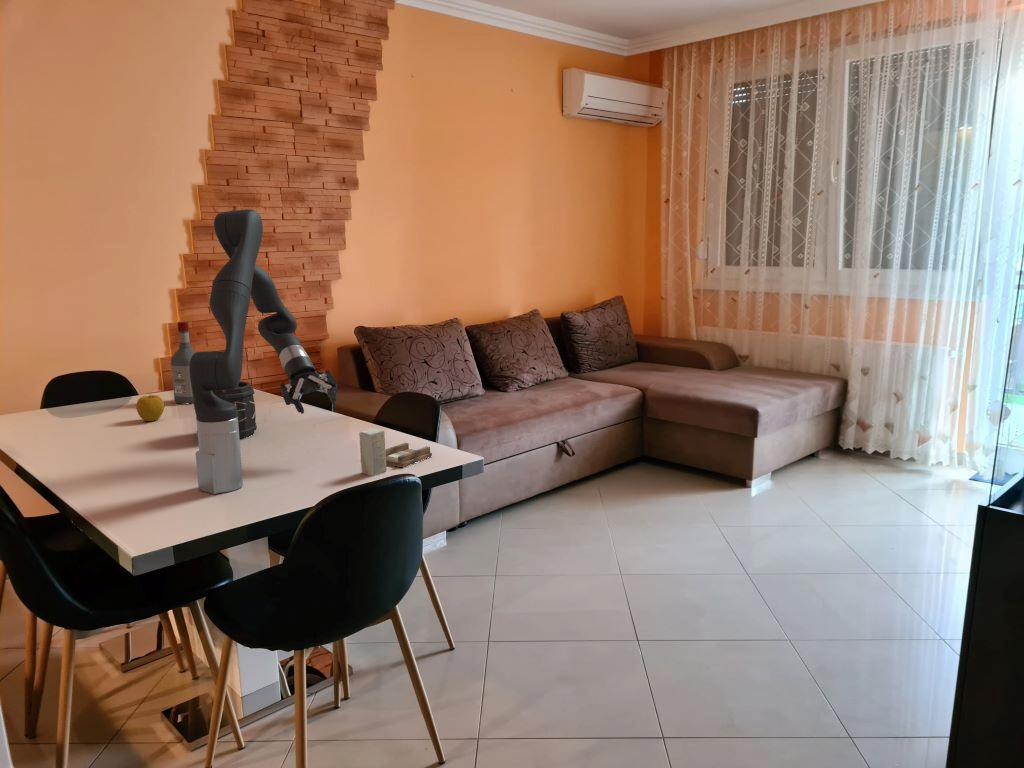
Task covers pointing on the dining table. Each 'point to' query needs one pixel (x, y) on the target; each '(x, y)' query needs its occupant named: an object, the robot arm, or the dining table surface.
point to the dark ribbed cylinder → (241, 407)
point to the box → (373, 451)
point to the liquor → (182, 366)
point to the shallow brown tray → (405, 455)
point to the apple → (150, 407)
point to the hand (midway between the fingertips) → (318, 406)
